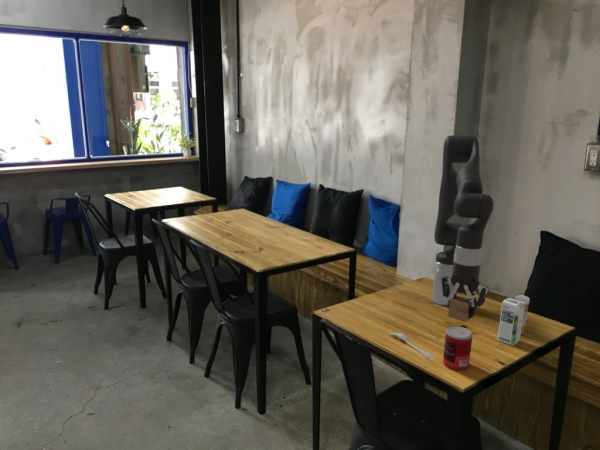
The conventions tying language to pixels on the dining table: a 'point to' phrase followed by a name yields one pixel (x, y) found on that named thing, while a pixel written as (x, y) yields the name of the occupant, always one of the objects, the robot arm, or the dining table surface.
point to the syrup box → (511, 321)
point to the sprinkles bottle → (526, 300)
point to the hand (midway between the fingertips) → (461, 313)
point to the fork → (413, 345)
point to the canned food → (457, 348)
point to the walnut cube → (459, 308)
